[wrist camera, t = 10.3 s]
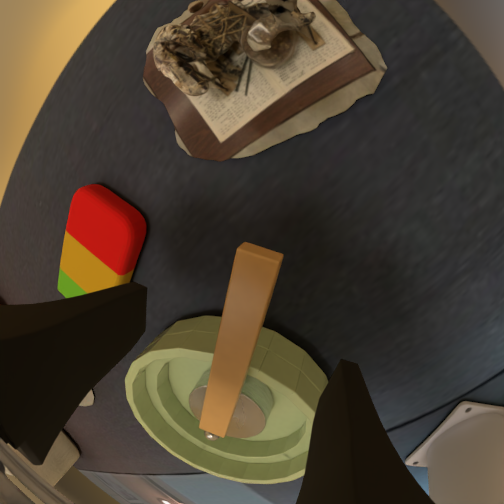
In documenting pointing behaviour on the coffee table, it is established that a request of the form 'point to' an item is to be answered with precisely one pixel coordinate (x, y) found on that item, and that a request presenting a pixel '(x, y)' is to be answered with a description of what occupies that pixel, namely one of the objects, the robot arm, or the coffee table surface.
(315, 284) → the coffee table surface
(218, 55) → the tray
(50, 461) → the planter
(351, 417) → the robot arm
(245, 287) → the ladle
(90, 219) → the popsicle
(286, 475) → the bowl
